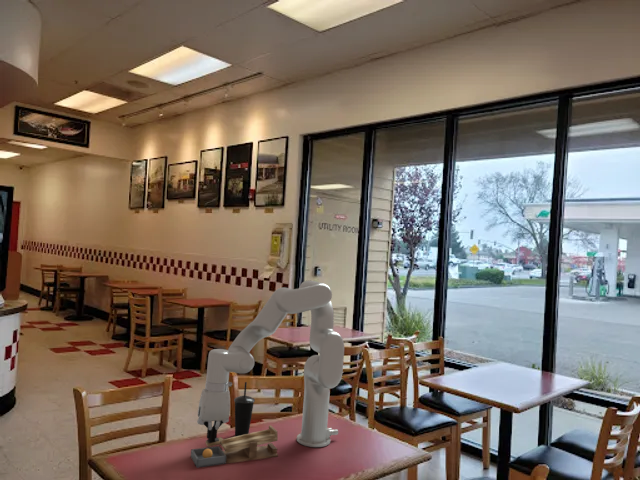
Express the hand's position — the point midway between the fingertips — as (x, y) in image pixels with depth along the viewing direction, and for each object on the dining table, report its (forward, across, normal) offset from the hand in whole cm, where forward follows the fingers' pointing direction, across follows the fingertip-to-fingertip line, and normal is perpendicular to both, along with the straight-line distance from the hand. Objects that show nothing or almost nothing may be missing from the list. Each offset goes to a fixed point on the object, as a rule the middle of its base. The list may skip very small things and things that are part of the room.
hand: (211, 440), depth 167 cm
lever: (0, -10, +4) cm, 10 cm away
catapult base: (+4, -12, +6) cm, 14 cm away
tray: (+4, +2, +6) cm, 8 cm away
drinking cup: (+4, -15, -11) cm, 19 cm away
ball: (+2, +3, +6) cm, 7 cm away
